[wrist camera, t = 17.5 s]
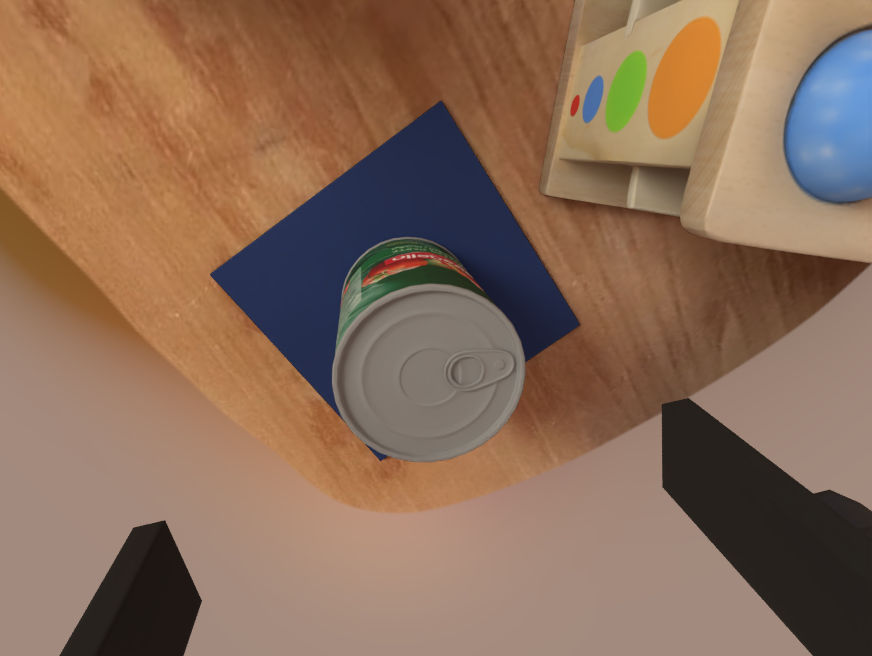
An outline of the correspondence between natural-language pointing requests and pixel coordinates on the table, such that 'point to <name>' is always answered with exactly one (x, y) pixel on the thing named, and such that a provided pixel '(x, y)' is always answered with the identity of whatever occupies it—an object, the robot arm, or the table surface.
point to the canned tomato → (423, 354)
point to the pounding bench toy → (722, 118)
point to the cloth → (383, 220)
